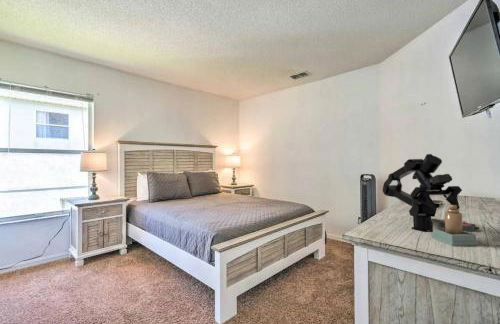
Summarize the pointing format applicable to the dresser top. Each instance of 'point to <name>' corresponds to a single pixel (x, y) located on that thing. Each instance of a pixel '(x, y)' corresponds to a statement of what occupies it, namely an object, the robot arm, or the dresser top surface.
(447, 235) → the u rest
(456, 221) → the bottle
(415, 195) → the robot arm
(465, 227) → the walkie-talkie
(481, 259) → the dresser top surface
